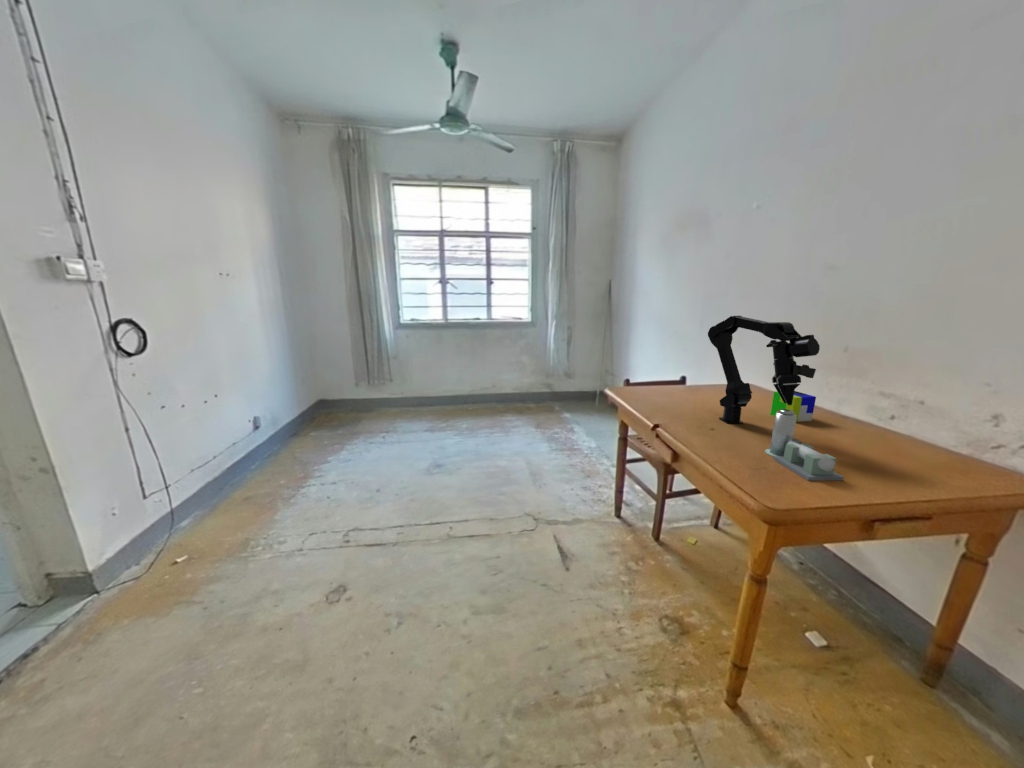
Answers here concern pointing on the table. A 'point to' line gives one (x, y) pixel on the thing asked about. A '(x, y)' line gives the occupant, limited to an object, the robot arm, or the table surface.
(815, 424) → the table surface
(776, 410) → the puzzle toy
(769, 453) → the pale green disc
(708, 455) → the table surface
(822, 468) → the shaft stand
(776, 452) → the canister
